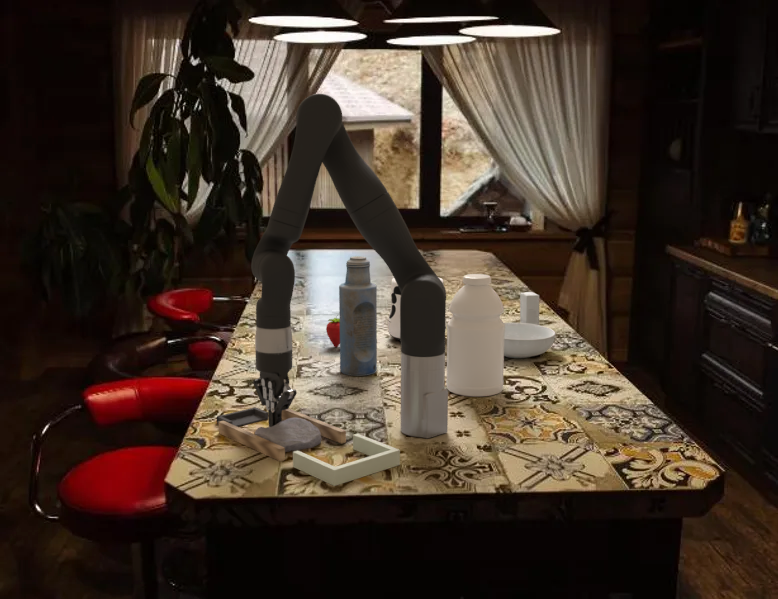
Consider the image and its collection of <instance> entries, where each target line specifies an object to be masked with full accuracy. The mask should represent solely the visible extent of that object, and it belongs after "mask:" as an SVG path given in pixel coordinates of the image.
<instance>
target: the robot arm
mask: <svg viewBox="0 0 778 599" xmlns="http://www.w3.org/2000/svg"><path fill="white" fill-rule="evenodd" d="M295 124H296V128H295V134H294V135H295V137H294V142H293V145H292V146H293V147H292V151H291V155H290V159H289V162H288V165H287V167H286V169H285V170H286V171H285V173H284V175H283V176H284V177H283V178H282V181H281V182H280V186H279V189H278V190H277V191H278V192H277V195H276V197H275V200H274V204H273V206H272V209H271V213H270V216H269V220H268V223H267V227H266V229H265V230H264V232H263V234H262V235H261V238H260V240H259V242H258V244H257V246H256V248H255V250H254V252H253V256H252V258H251V266H250V267H251V272H252V273H251V274H252V275H253V277H254V278H255V279H256V280H257V281H259V282H261V296H260V298H259V299H258V300H257V301H256V305H255V322H256V324H255V325H256V326H255V335H254V336H255V337H254V338H255V343H254V344H255V370H257V372H259V377H258V378H256V379H253V381H252V384H253V386H254V388H255V391H256V393H257V396H258V398H259V400H260V403H261V404H260V405H262V406H263V407H264V406H265V408H266V411H267V412H268V419H267V420H268V427H272V426H274V425H276V424H277V423H279V422H281V421H283V420H282V410H286V409H288V408H289V409H290V406H291V404H292V403H293V401H294V400H295V398H296V396H297V393H298V392H297V390H296V389H295V388H294V389H292V388H291V387H290V378H289V372H290V371H291V370H292V369H293V334H292V333H293V332H292V326H291V325H292V320H291V319H292V318H291V315H292V314H291V312H292V310H291V302H292V299H293V294H294V287H295V280H296V272H295V266H294V263H293V260H292V259H291V257H289V255H288V254H289V252H290V249H291V247H292V245H293V244H294V243H296V242H298V241H299V240H300V238H301V236H302V234H303V229H304V227H305V224H306V221H307V218H308V214H309V211H310V207H311V204H312V200H313V195H314V191H315V187H316V183H317V180H318V177H319V174H320V170H321V166H322V164H323V166H324V167H325V169H326V171H327V172H328V175H329V176H330V178H331V181H332V183H333V186H334V187H335V191H336V192H337V194H338V196H339V198H340V200H341V202H342V204H343V206H344V208H345V210H346V211H347V213H348V215H349V217H350V219H351V220H352V222H353V224H354V225H355V227H356V228H357V231H359V233H360V234H361V236H362V237H363V239H364V240H365V241H366V242H367V243H368V245H369V246H370V247H371V249H373V250H374V252H376V254H377V255H378V256H379V257H380V259H382V261H383V262H384V263H385V264H386V266H387V268H388V269H389V270H390V273H391V274H392V276H393V278H395V280H396V282H397V285H398V287H399V289H400V291H401V298H400V340H401V341H400V340H399V341H400V431H401V433H402V434H403V435H407V436H409V437H415V438H424V439H430V438H433V437H436V436H440V435H442V434H443V435H444V434H446V433H448V424H449V423H448V422H449V421H448V417H449V415H448V414H449V411H448V410H449V390H448V389H447V387H446V388H445V384H446V379H445V377H446V372H445V371H446V331H445V317H446V311H447V310H446V309H447V308H446V307H447V306H446V304H447V290H446V287H445V284H444V285H443V283H444V282H443V283H442V282H441V280H440V279H439V278H440V277H439V276H438V275H437V274H436V273H435V271H434V270H433V269H432V267H431V266H430V265H429V263H428V262H427V260H426V259H425V258H424V256H423V254H422V253H421V252H420V250H419V248H418V247H417V245H416V243H415V241H414V239H413V237H412V235H411V233H410V232H411V231H410V230H409V228H408V225H407V224H406V221H405V219H403V216H402V214H401V212H400V210H399V209H398V206H397V205H396V203H395V201H394V199H393V198H392V196H391V194H390V193H389V191H388V189H387V188H386V186H385V185H384V184H383V182H382V181H381V179H380V177H378V176H377V174H376V173H375V172H374V170H373V169H372V168H371V167H370V166H369V164H368V163H367V162H366V161H365V160H364V158H363V157H362V156H361V155H360V154H359V152H358V151H357V149H356V147H355V146H354V144H353V142H352V140H351V138H350V136H349V134H348V132H347V130H346V127H345V125H344V122H343V112H342V108H341V106H340V104H339V103H338V102H337V100H336V99H335V98H334V97H332V96H330V95H328V94H326V93H313V94H311V95H309V96H306V98H304V99H303V100H302V101H301V103H299V106H298V107H297V110H296V115H295ZM438 277H439V278H438Z"/></svg>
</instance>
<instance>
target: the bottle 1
mask: <svg viewBox="0 0 778 599" xmlns="http://www.w3.org/2000/svg"><path fill="white" fill-rule="evenodd" d="M370 266H371V264H370V260H369V259H367V257H365V256H359V255H358V256H357V255H355V256H350V257H349V259H348V260H347V261H346V274H345V280H344V282H343V283H341V284H339V287H338V296H339V298H338V300H339V313H338V315H339V319H340V344H339V361H340V362H339V368H340V370H339V371H340V372H341V373H342V374H344V375H347V376H353V377H354V376H355V377H357V376H358V377H360V376H362V377H363V376H370V375H372V374H375V373H377V370H378V365H377V364H378V362H377V361H378V359H377V358H378V357H377V356H378V349H377V348H378V347H377V345H378V337H377V332H378V331H377V329H378V328H377V324H378V320H377V319H378V318H377V312H378V311H377V310H378V309H377V304H378V303H377V302H378V301H377V299H378V298H377V297H378V296H377V295H378V292H377V288H378V286H377V285H376V283H373V282H372V281H371V280H372V279H371V271H370V268H371V267H370Z"/></svg>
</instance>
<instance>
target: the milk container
mask: <svg viewBox="0 0 778 599" xmlns="http://www.w3.org/2000/svg"><path fill="white" fill-rule="evenodd" d="M438 278H439V279H440V280H441V282H442V283H443V285H444V286H445V284H444V279H443V278H441V277H439V276H438ZM390 284H391V285H390V286H391V287H390V290H391V291H390V310H389V315H388V319H387V329H388V334H389V335H390V336H391V337H392V338H393V339H394V340H397V341H400V342H401V340H400V298H401V291H400V289H399V287H398V285H397V282H396V280H395V278H394V277H392V278H391V283H390ZM445 332H447V317H446V316H445Z"/></svg>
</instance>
